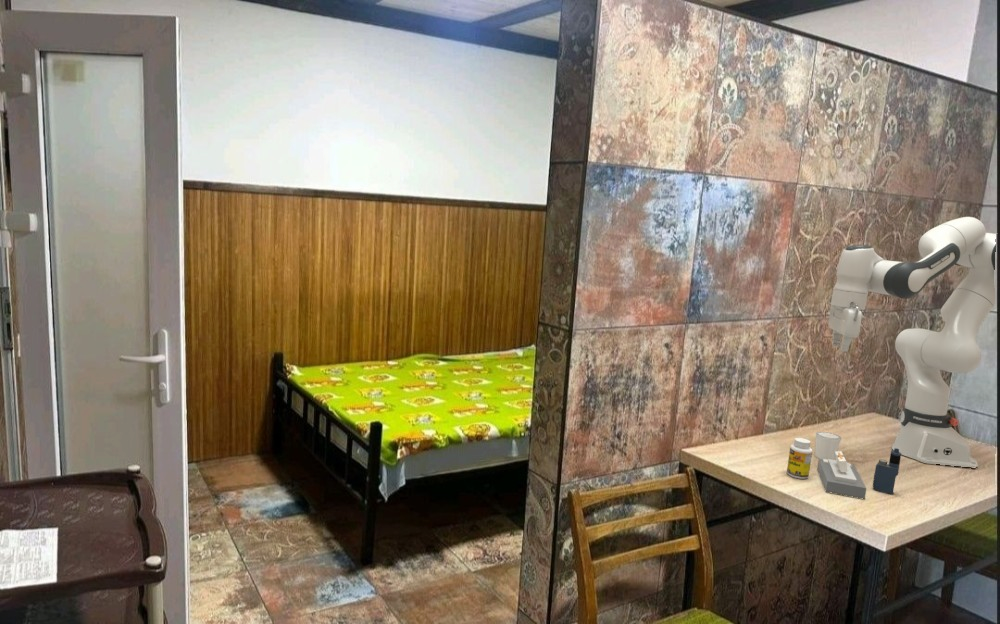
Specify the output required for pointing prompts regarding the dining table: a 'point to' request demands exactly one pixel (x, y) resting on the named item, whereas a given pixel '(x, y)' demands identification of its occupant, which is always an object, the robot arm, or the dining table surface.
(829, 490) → the panel
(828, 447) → the white cylinder
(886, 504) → the dining table surface
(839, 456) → the double breaker paddle
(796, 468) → the supplement bottle
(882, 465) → the vaping device
